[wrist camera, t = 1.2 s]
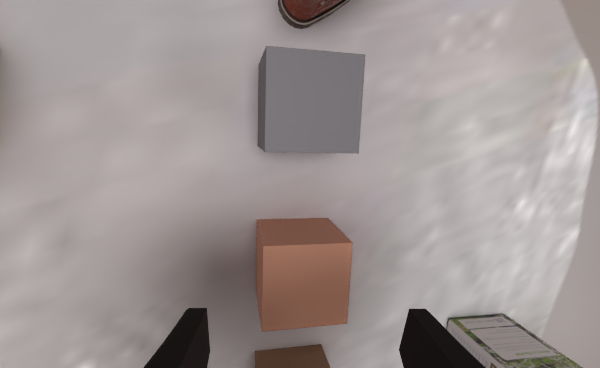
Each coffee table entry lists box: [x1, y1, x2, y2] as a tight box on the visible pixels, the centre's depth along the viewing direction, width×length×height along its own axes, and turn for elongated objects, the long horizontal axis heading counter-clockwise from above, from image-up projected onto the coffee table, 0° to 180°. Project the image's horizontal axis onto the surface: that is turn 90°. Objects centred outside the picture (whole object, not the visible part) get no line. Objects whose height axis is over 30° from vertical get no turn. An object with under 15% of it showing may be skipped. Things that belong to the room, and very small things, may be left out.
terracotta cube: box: [256, 218, 353, 332], centre depth 20 cm, size 5×5×5 cm
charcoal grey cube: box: [258, 46, 365, 154], centre depth 18 cm, size 5×5×5 cm
